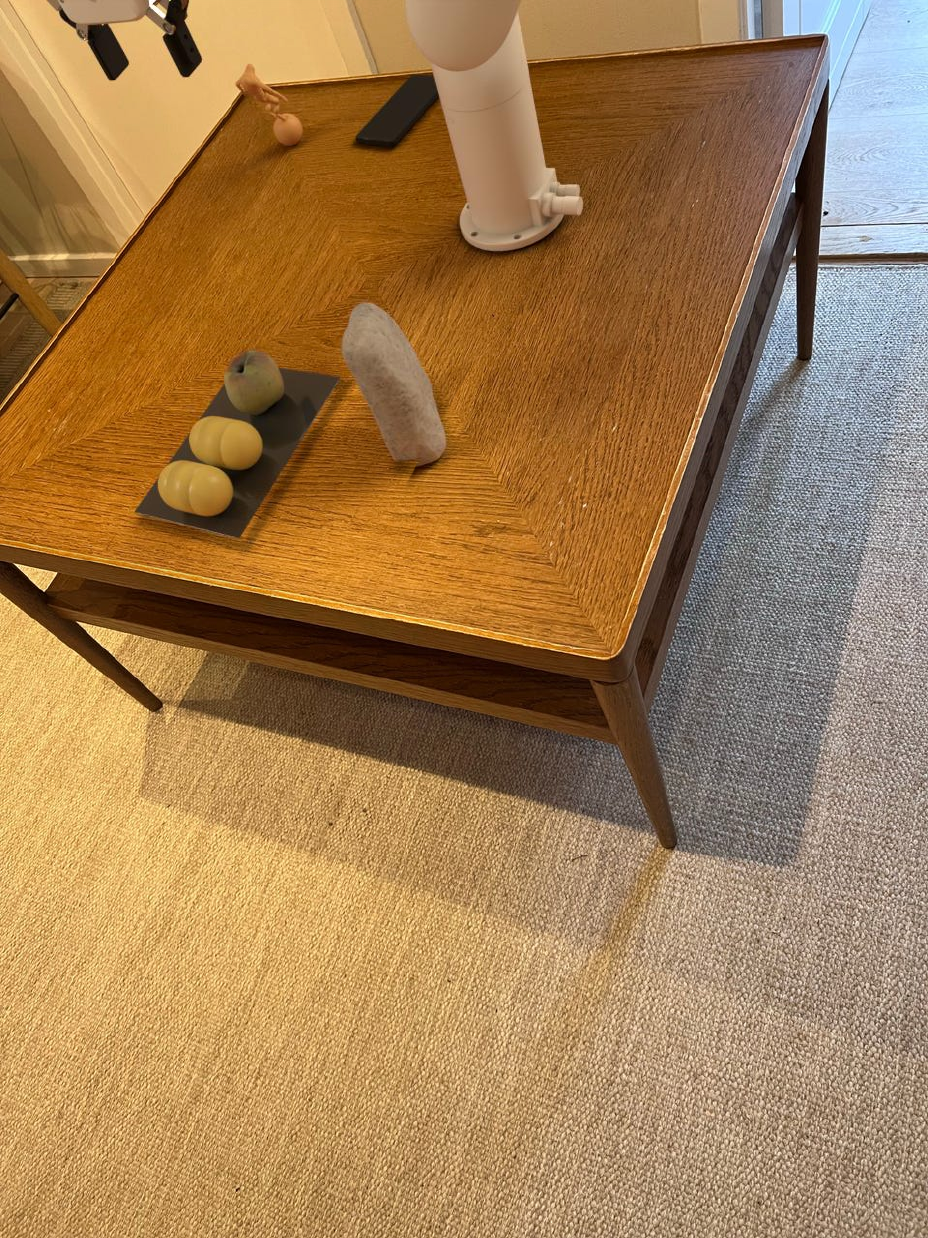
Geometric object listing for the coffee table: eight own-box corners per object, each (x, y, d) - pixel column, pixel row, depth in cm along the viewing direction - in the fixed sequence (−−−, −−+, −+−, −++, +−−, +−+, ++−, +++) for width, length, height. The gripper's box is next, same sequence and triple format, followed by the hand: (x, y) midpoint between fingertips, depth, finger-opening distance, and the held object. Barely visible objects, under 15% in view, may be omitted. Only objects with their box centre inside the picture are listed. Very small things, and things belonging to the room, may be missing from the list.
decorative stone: (387, 398, 96) (336, 282, 84) (441, 384, 95) (398, 265, 83) (391, 475, 90) (337, 363, 78) (449, 461, 89) (404, 345, 77)
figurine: (323, 138, 127) (288, 49, 117) (297, 164, 125) (259, 77, 115) (281, 130, 131) (245, 44, 121) (255, 156, 129) (216, 70, 119)
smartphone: (352, 137, 123) (411, 73, 128) (354, 143, 124) (413, 79, 129) (392, 142, 120) (451, 76, 125) (394, 148, 121) (452, 82, 126)
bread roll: (250, 491, 92) (227, 459, 87) (225, 530, 90) (201, 499, 85) (190, 478, 95) (165, 446, 91) (164, 515, 93) (138, 484, 89)
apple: (311, 379, 98) (289, 337, 93) (266, 431, 96) (242, 391, 91) (271, 366, 101) (248, 325, 96) (227, 417, 98) (201, 377, 94)
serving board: (345, 386, 99) (341, 376, 97) (245, 547, 90) (238, 538, 89) (245, 371, 104) (239, 361, 103) (141, 520, 96) (133, 512, 94)
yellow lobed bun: (279, 447, 94) (258, 413, 90) (255, 484, 92) (232, 451, 88) (219, 435, 97) (196, 402, 93) (195, 471, 95) (171, 438, 91)
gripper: (-44, -98, 80) (73, 95, 94) (101, -121, 73) (204, 90, 87) (6, -140, 83) (112, 53, 97) (149, -166, 76) (241, 45, 90)
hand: (155, 70), depth 92 cm, fingers open, 9 cm apart
